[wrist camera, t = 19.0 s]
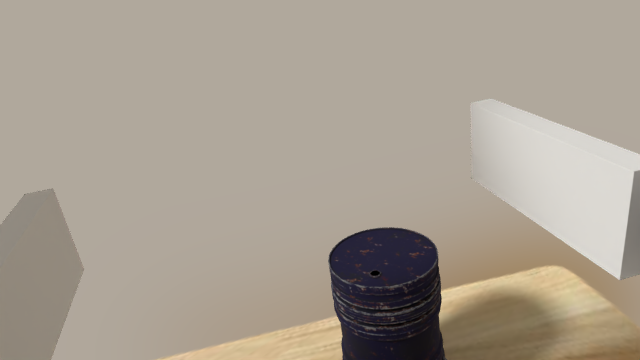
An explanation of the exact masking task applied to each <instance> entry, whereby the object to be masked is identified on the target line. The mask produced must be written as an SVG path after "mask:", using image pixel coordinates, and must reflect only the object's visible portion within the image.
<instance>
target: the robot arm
mask: <svg viewBox="0 0 640 360" xmlns="http://www.w3.org/2000/svg"><path fill="white" fill-rule="evenodd" d="M471 178H472V179H473V180H474V181H476V182H477V183H479V184H480V185H482V186H483V187H485V188H486V189H488V190H489V191H490V192H492V193H493V194H495V195H496V196H498V197H499V198H501V199H502V200H504V201H505V202H506V203H508V204H509V205H511V206H513V207H514V208H515V209H517V210H518V211H520V212H521V213H523V214H524V215H525V216H527V217H528V218H530V219H531V220H533V221H535V222H536V223H537V224H539V225H540V226H541V227H543V228H545V229H546V230H547V231H549V232H550V233H552V234H553V235H555V236H556V237H558V238H559V239H560V240H562V241H563V242H565V243H566V244H568V245H569V246H571V247H572V248H573V249H575V250H576V251H578V252H579V253H581V254H582V255H584V256H585V257H587V258H588V259H590V260H591V261H592V262H594V263H595V264H597V265H598V266H600V267H601V268H603V269H604V270H606V271H607V272H609V273H610V274H611V275H613V276H614V277H616V278H617V279H619V280H622V279H626V278H629V277H632V276H636V275H639V274H640V154H637V153H635V152H632V151H629V150H627V149H624V148H621V147H619V146H616V145H614V144H611V143H608V142H605V141H603V140H600V139H598V138H595V137H592V136H590V135H587V134H584V133H581V132H579V131H576V130H573V129H571V128H568V127H566V126H563V125H560V124H558V123H555V122H552V121H550V120H547V119H544V118H541V117H539V116H537V115H534V114H531V113H529V112H526V111H523V110H521V109H518V108H515V107H513V106H510V105H507V104H505V103H502V102H499V101H497V100H494V99H487V100H482V101H478V102H473V103H471ZM83 271H84V268H83V265H82V262H81V260H80V257H79V255H78V252H77V249H76V247H75V244H74V242H73V239H72V237H71V234H70V231H69V229H68V226H67V223H66V221H65V218H64V216H63V213H62V210H61V208H60V205H59V202H58V200H57V197H56V195H55V192H54V190H53V189H48V190H43V191H38V192H33V193H29V194H24V196H23V197H22V198H21V200H20V201H19V202H18V203H17V205H16V206H15V207H14V209H13V210H12V211H11V212H10V214H9V215H8V216H7V217H6V219H5V220H4V221H3V223H2V224H1V225H0V360H51V357H52V355H53V352H54V350H55V347H56V344H57V341H58V339H59V336H60V333H61V331H62V328H63V325H64V322H65V320H66V317H67V314H68V312H69V309H70V306H71V303H72V301H73V298H74V295H75V293H76V289H77V287H78V284H79V282H80V279H81V276H82V274H83Z"/></svg>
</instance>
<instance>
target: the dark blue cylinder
mask: <svg viewBox="0 0 640 360" xmlns="http://www.w3.org/2000/svg"><path fill="white" fill-rule="evenodd" d="M328 262H329V268H330V273H331V281H332V282H331V287H332V294H333V299H334V307H335V311H336V313H337V317H338V319H339V321H340V322H341V329H342V335H343V337H342V352H343V360H445V354H444V349H443V339H442V334H441V332H440V329H439V312H440V307H441V299H442V298H441V281H440V274H439V267H438V251H437V248H436V246H435V244H434V243H433V242H432V241H431V240H430V239H429V238H427V237H426V236H424V235H422V234H420V233H418V232H415V231H411V230H407V229H402V228H375V229H370V230H365V231H361V232H358V233H355V234H353V235H351V236H348V237H347V238H345V239H343V240H342V241H340V242H339V243H338V244H337V245H336V246H335V247H334V248H333V249H332V251H331V252H330V255H329V260H328Z"/></svg>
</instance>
